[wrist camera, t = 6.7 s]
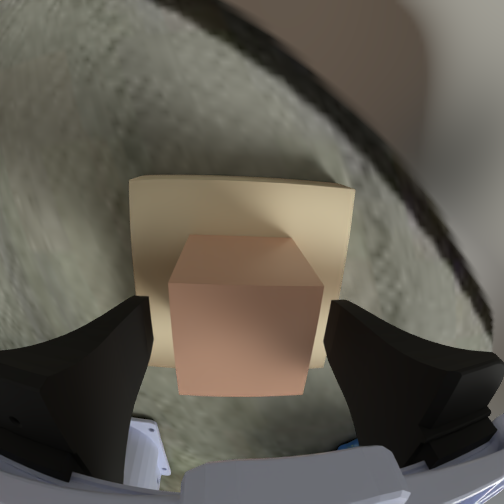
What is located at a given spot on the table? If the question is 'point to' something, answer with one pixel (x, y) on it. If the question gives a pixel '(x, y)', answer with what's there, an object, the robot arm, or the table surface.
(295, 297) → the block
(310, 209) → the base
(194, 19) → the table surface
